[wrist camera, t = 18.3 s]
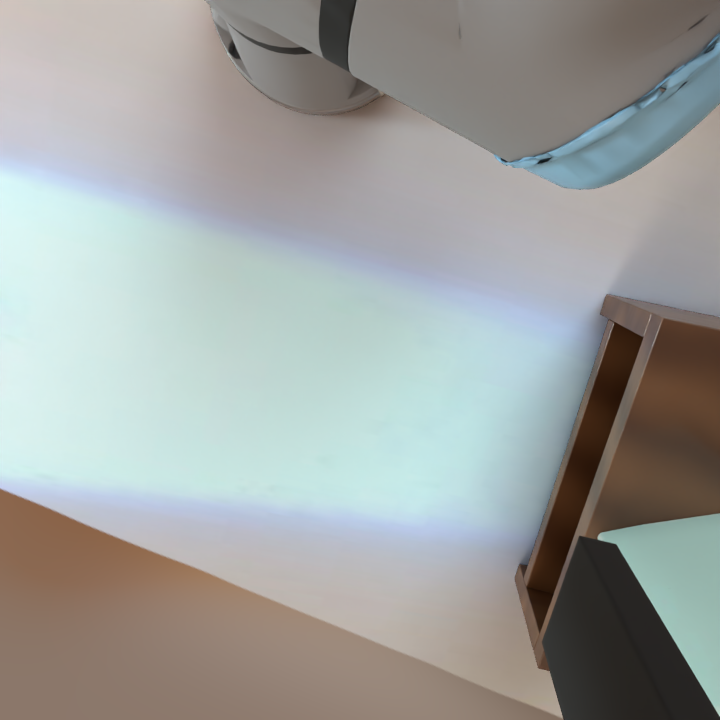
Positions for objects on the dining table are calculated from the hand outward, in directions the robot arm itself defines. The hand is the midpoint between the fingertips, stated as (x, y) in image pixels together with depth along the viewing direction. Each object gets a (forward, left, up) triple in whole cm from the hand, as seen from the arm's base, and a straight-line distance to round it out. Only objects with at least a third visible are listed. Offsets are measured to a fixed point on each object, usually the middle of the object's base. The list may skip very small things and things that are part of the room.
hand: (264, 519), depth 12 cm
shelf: (+9, +22, -33) cm, 40 cm away
